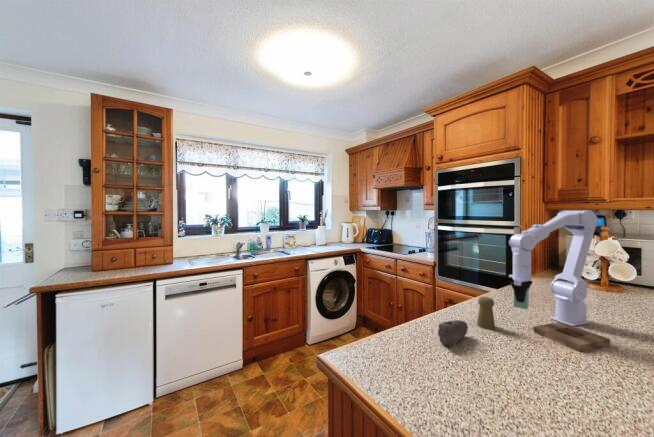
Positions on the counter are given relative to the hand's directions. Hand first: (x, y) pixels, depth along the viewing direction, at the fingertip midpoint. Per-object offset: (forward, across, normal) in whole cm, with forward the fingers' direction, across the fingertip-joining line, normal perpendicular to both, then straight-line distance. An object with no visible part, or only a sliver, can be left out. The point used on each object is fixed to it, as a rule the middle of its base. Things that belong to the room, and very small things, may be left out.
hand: (521, 300), depth 102 cm
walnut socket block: (+9, +2, +14) cm, 17 cm away
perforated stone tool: (+10, +32, -13) cm, 36 cm away
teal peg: (+2, 0, 0) cm, 3 cm away
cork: (+10, +11, -9) cm, 17 cm away
